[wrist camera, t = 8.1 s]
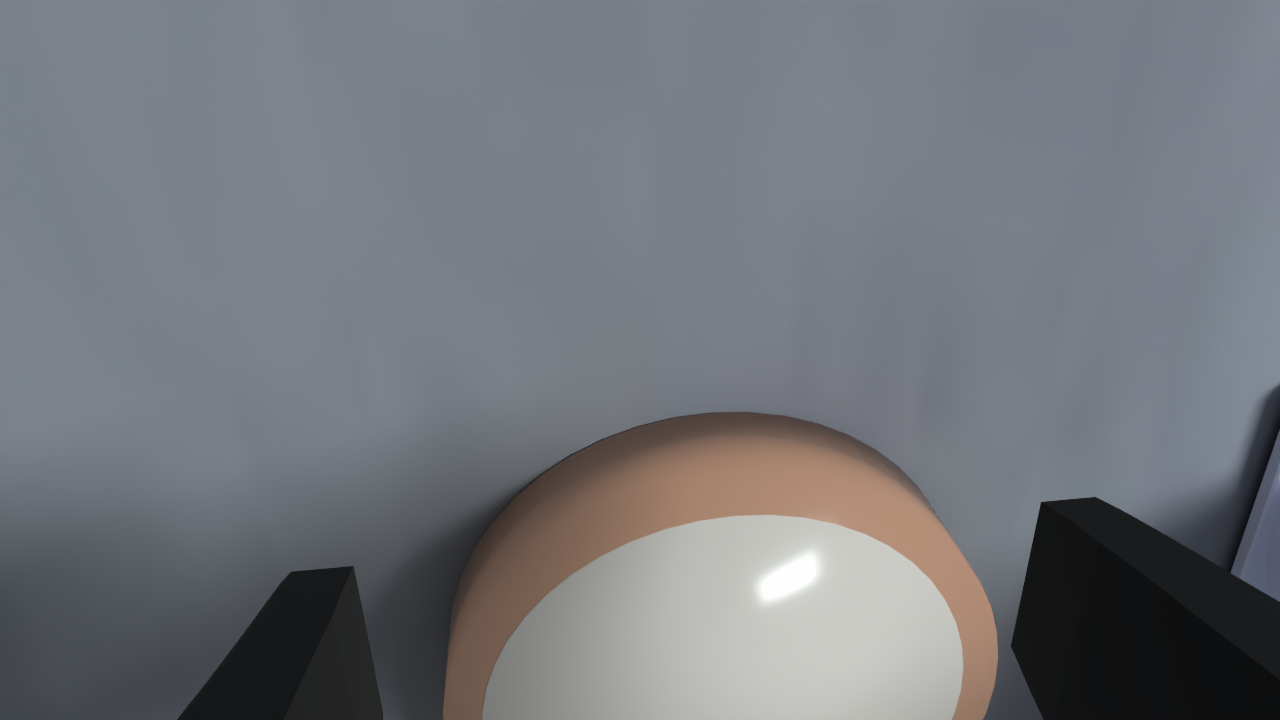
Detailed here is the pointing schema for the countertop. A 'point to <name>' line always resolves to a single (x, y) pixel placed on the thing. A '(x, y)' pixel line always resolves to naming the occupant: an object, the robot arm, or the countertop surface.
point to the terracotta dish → (720, 586)
